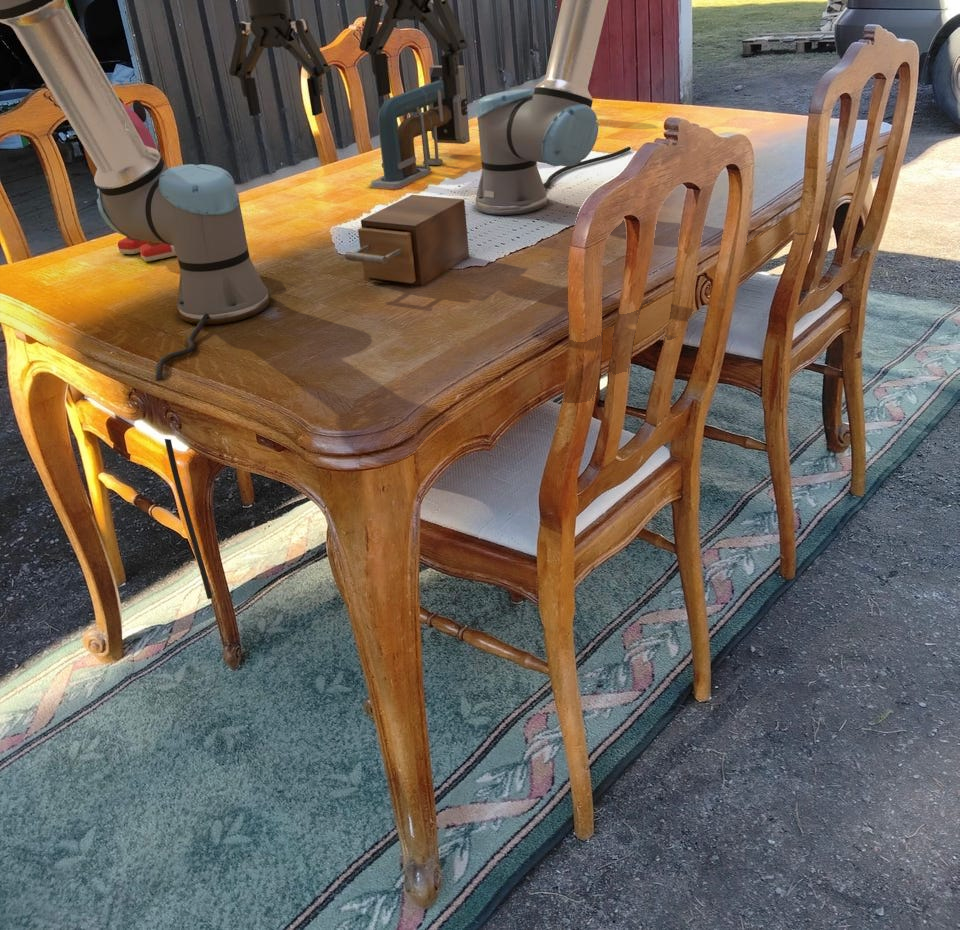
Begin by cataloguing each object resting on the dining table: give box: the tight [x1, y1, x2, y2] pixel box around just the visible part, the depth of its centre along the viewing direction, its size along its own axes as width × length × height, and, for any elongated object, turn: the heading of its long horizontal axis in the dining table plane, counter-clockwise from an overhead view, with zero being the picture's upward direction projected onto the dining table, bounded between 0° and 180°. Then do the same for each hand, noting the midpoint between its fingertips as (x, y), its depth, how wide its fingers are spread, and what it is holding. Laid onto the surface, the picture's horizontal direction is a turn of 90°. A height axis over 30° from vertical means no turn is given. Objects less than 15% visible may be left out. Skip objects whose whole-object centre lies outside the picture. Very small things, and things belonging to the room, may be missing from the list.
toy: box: [83, 96, 177, 262], centre depth 190 cm, size 21×10×30 cm, turn 47°
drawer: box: [345, 227, 416, 284], centre depth 171 cm, size 21×10×9 cm, turn 150°
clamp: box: [369, 64, 471, 190], centre depth 235 cm, size 35×9×21 cm, turn 151°
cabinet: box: [360, 194, 470, 286], centre depth 175 cm, size 16×12×11 cm
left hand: (286, 114), depth 185 cm, fingers open, 13 cm apart
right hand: (417, 95), depth 166 cm, fingers open, 13 cm apart
